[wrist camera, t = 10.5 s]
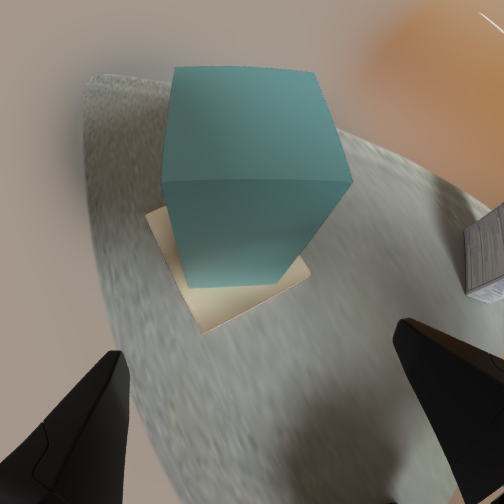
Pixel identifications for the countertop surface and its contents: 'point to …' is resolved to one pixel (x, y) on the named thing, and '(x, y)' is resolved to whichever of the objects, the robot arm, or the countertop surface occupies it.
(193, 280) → the teal tall cube
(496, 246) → the medicine box
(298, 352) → the countertop surface
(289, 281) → the peg stand
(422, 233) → the countertop surface
